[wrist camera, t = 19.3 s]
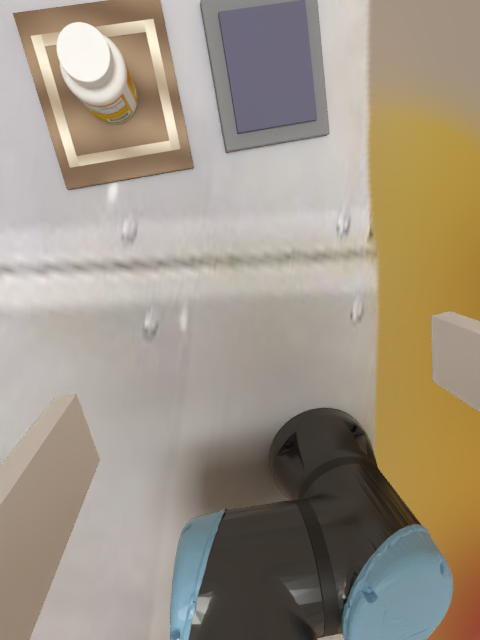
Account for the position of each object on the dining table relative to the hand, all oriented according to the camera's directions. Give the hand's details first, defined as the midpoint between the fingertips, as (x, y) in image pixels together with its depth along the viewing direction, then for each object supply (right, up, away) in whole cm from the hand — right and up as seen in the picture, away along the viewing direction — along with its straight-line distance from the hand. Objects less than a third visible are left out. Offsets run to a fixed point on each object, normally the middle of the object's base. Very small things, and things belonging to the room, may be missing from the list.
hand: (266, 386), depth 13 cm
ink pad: (+2, +29, +25) cm, 39 cm away
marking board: (-15, +26, +24) cm, 38 cm away
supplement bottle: (-14, +26, +23) cm, 38 cm away
